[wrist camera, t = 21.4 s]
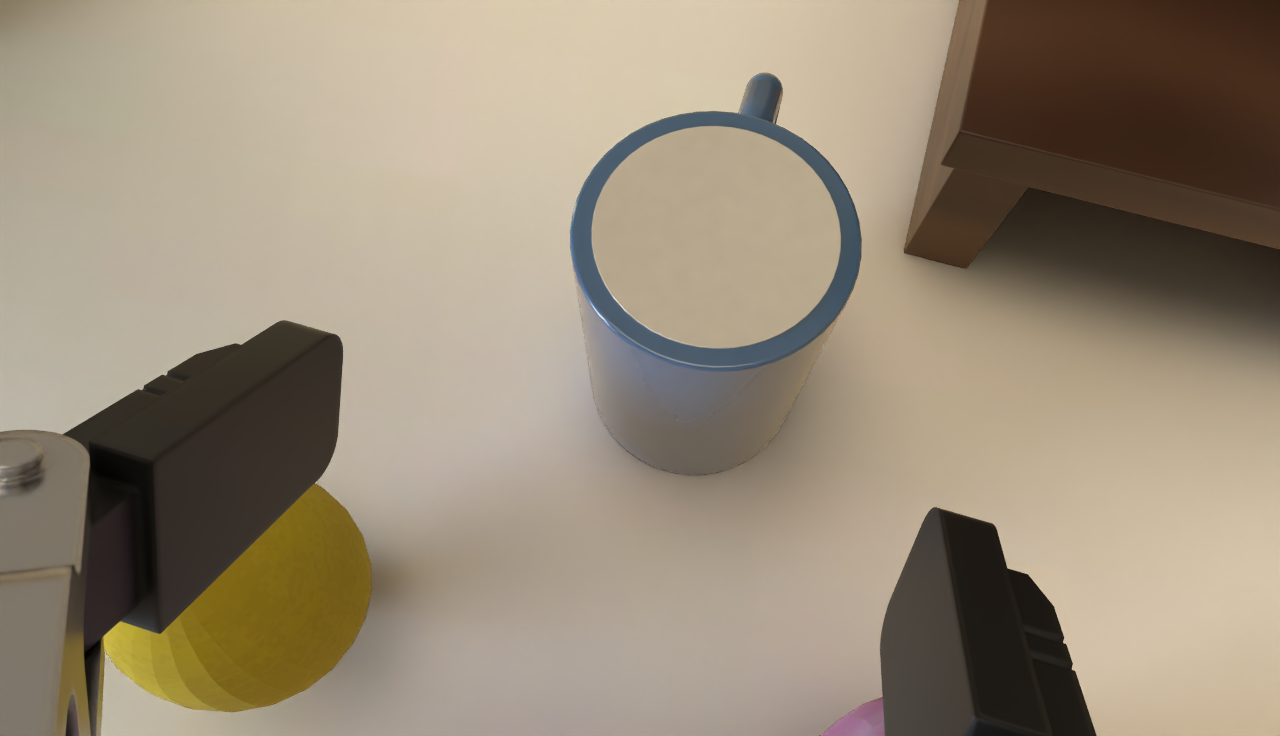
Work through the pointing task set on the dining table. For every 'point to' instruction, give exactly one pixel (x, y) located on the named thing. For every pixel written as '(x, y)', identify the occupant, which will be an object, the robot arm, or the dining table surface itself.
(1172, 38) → the shelf
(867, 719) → the cupcake
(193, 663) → the lemon
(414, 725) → the dining table surface
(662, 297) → the mug
